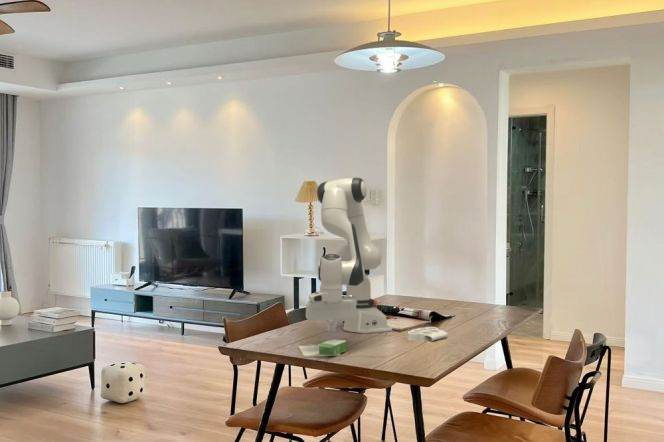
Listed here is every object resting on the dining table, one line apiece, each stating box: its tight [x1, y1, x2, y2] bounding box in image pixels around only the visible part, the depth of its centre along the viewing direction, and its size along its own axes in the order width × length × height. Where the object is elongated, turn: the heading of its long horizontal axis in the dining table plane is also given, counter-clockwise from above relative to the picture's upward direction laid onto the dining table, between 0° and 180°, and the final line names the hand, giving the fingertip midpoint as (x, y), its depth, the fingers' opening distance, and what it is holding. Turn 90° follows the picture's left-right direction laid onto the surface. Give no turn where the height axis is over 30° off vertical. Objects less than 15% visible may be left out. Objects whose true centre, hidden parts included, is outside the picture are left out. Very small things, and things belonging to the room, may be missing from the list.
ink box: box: [315, 338, 348, 355], centre depth 253 cm, size 7×4×13 cm
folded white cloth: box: [407, 326, 449, 343], centre depth 283 cm, size 3×18×15 cm
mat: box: [297, 344, 341, 358], centre depth 258 cm, size 14×16×1 cm
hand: (331, 330), depth 259 cm, fingers closed
